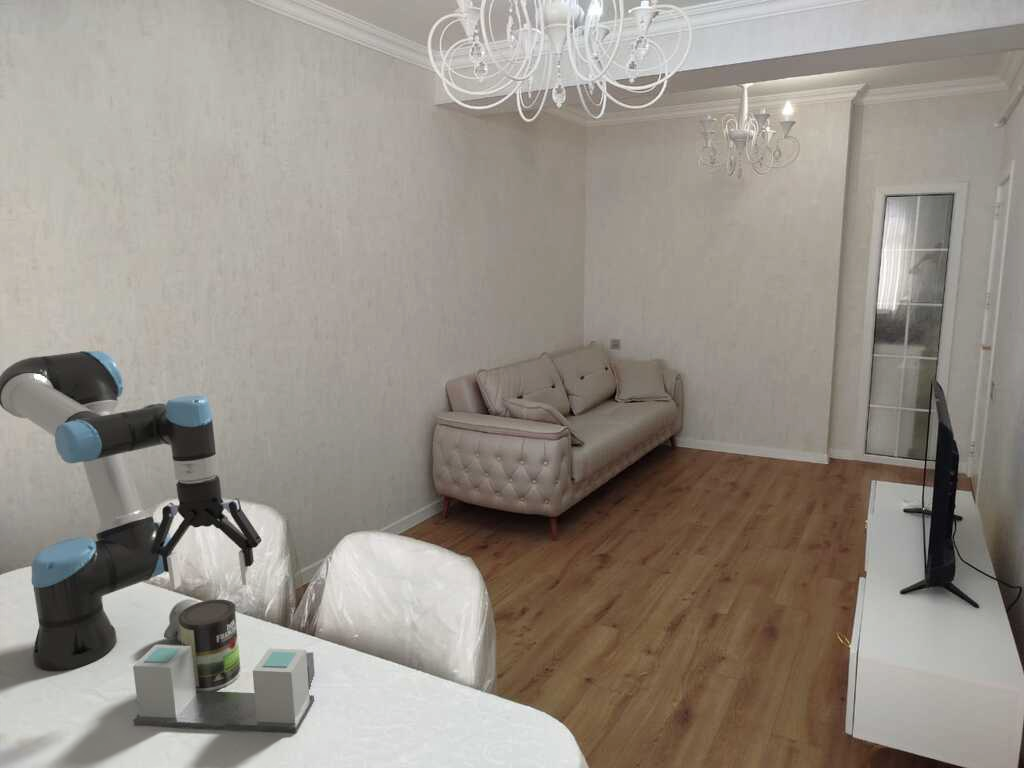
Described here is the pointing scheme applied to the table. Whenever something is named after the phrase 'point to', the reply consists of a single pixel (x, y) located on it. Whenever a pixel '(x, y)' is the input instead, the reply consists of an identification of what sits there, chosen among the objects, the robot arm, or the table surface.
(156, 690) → the mounted module
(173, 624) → the chubby cartoon animal
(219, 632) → the coffee can
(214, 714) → the rail plate
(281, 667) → the block
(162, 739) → the table surface
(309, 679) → the charcoal block
